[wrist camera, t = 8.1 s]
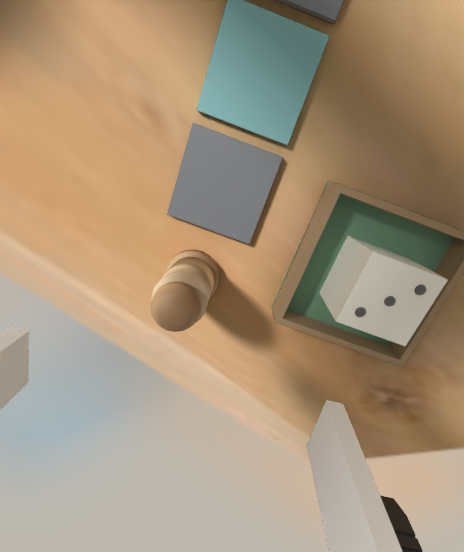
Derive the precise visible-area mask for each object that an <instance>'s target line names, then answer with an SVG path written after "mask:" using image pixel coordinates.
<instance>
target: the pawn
mask: <svg viewBox="0 0 464 552" xmlns="http://www.w3.org/2000/svg"><path fill="white" fill-rule="evenodd" d="M219 279H220V273H219V269H218V266H217V264H216V262H215V261H214V260H213V259H212V258H211V257H210V256H209V255H207V254H206V253H204V252H201V251H198V250H187V251H183V252H181V253H179V254H178V255H176V256H175V257H174V258H173V259H172V260H171V261H170V263H169V264H168V266H167V269H166V272H165V275H164V276H163V278H162V279H161V280H160V281H159V282H158V283H157V285H156V286H155V288H154V290H153V293H152V301H151V313H152V316H153V318H154V320H155V321H156V323H157V324H158V325H159V326H160V327H162V328H164V329H166V330H168V331H174V332H177V331H183V330H186V329H188V328H190V327H191V326H192V325H193V324H194V323H196V322H197V321H198V320H200V319H201V317H202V316H203V315H204V313H205V310H206V307H207V304H208V301H209V298H210V297H212V296H213V294H214V293H215V292H216V290H217V287H218V284H219Z"/></svg>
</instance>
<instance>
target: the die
mask: <svg viewBox="0 0 464 552" xmlns="http://www.w3.org/2000/svg"><path fill="white" fill-rule="evenodd" d="M447 281H448V279H446V278H444V277H442V276H440V275H438V274H437V273H435V272H433V271H431V270H429V269H427V268H426V267H424V266H422V265H420V264H418V263H416V262H414V261H413V260H411V259H409V258H407V257H404V256H401V255H399V254H396V253H393V252H391V251H388V250H385V249H383V248H380V247H378V246H375V245H372V244H370V243H367V242H364V241H362V240H359V239H356V238H354V237H351V236H347V238H346V240H345V242H344V244H343V246H342V248H341V250H340V252H339V254H338V256H337V258H336V260H335V262H334V264H333V266H332V268H331V270H330V272H329V274H328V276H327V278H326V280H325V282H324V284H323V286H322V288H321V290H320V295H321V297H322V298H323V300H324V302H325V304H326V305H327V307H328V309H329V311H330V312H331V314H332V316H333V318H334V319H335V321H336V322H339V323H341V324H344V325H347V326H350V327H353V328H355V329H358V330H361V331H364V332H367V333H369V334H372V335H375V336H378V337H380V338H383V339H386V340H389V341H392V342H394V343H397V344H400V345H403V346H406V344H407V343H408V341H409V340H410V338H411V337H412V335H413V334H414V332H415V330H416V329H417V327H418V326H419V324H420V323H421V321H422V320H423V318H424V316H425V315H426V313H427V312H428V310H429V309H430V307H431V306H432V304H433V302H434V301H435V299H436V298H437V296H438V295H439V293H440V291H441V290H442V288H443V287H444V285H445V284H446V282H447Z"/></svg>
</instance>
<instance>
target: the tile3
mask: <svg viewBox="0 0 464 552" xmlns="http://www.w3.org/2000/svg"><path fill="white" fill-rule="evenodd" d="M277 1H279V2H282V3H284V4H286V5H289V6H291V7H294V8H296V9H298V10H301V11H303V12H306V13H308V14H310V15H313V16H315V17H318V18H320V19H322V20H325V21H327V22H330V23H332V24H334V22H335V20H336V18H337V15H338V13H339V10H340V8H341V5H342V2H343V0H277Z"/></svg>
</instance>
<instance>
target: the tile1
mask: <svg viewBox="0 0 464 552" xmlns="http://www.w3.org/2000/svg"><path fill="white" fill-rule="evenodd" d="M282 158H283V157H281V156H278V155H276V154H273V153H271V152H268V151H265V150H263V149H260V148H258V147H255V146H252V145H250V144H247V143H245V142H242V141H239V140H237V139H234V138H232V137H229V136H226V135H224V134H221V133H219V132H216V131H213V130H211V129H208V128H206V127H203V126H200V125H198V124H195V123H193V124H192V128H191V131H190V135H189V139H188V142H187V146H186V149H185V153H184V156H183V160H182V163H181V167H180V170H179V174H178V178H177V181H176V185H175V188H174V192H173V195H172V199H171V202H170V206H169V210H168V213H167V215H170V216H173V217H176V218H178V219H181V220H184V221H187V222H189V223H192V224H195V225H198V226H200V227H203V228H206V229H209V230H211V231H214V232H217V233H219V234H222V235H225V236H228V237H230V238H233V239H236V240H239V241H241V242H244V243H247V244H250V241H251V238H252V236H253V233H254V231H255V228H256V225H257V223H258V220H259V218H260V215H261V213H262V210H263V207H264V205H265V202H266V200H267V197H268V194H269V192H270V189H271V187H272V184H273V181H274V179H275V176H276V174H277V171H278V168H279V166H280V163H281V161H282Z"/></svg>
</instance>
